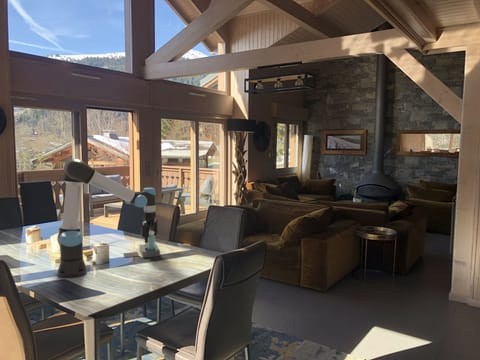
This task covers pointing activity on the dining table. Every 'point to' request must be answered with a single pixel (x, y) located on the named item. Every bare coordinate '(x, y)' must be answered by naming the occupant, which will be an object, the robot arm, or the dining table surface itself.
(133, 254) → the mat
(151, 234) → the cartridge
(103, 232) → the dining table surface
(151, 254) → the housing
